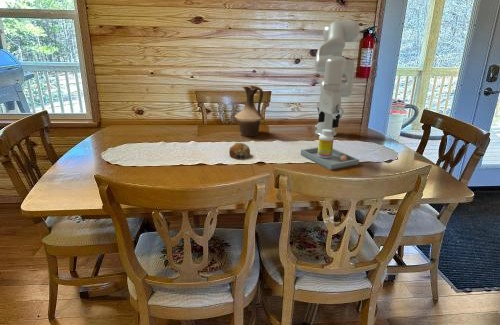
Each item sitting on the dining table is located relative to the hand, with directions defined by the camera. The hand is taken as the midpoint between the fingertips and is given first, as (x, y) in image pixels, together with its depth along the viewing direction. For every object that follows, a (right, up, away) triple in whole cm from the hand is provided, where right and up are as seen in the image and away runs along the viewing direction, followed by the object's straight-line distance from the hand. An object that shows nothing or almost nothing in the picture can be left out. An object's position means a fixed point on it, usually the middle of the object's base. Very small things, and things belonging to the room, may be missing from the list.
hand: (327, 124), depth 158 cm
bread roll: (-41, -14, +5) cm, 44 cm away
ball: (+7, -17, -1) cm, 18 cm away
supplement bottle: (-1, -15, +5) cm, 16 cm away
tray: (+1, -16, +3) cm, 16 cm away
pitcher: (-36, -1, +40) cm, 54 cm away
